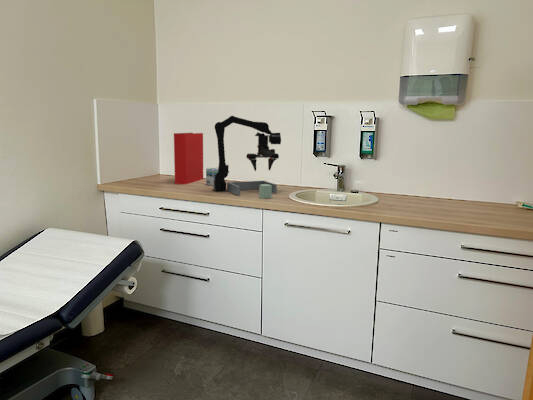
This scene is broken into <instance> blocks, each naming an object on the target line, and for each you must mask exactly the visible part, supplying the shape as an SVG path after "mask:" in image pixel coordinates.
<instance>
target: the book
mask: <svg viewBox="0 0 533 400" xmlns="http://www.w3.org/2000/svg"><path fill="white" fill-rule="evenodd" d="M173 150H174V151H173V155H174V157H173V158H174V163H173V164H174V184H175V185H188V184H192V183H194V182H198V181H201V180H204V133H203V132H198V133H197V132H195V133H193V132H176V133H173Z"/></svg>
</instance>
